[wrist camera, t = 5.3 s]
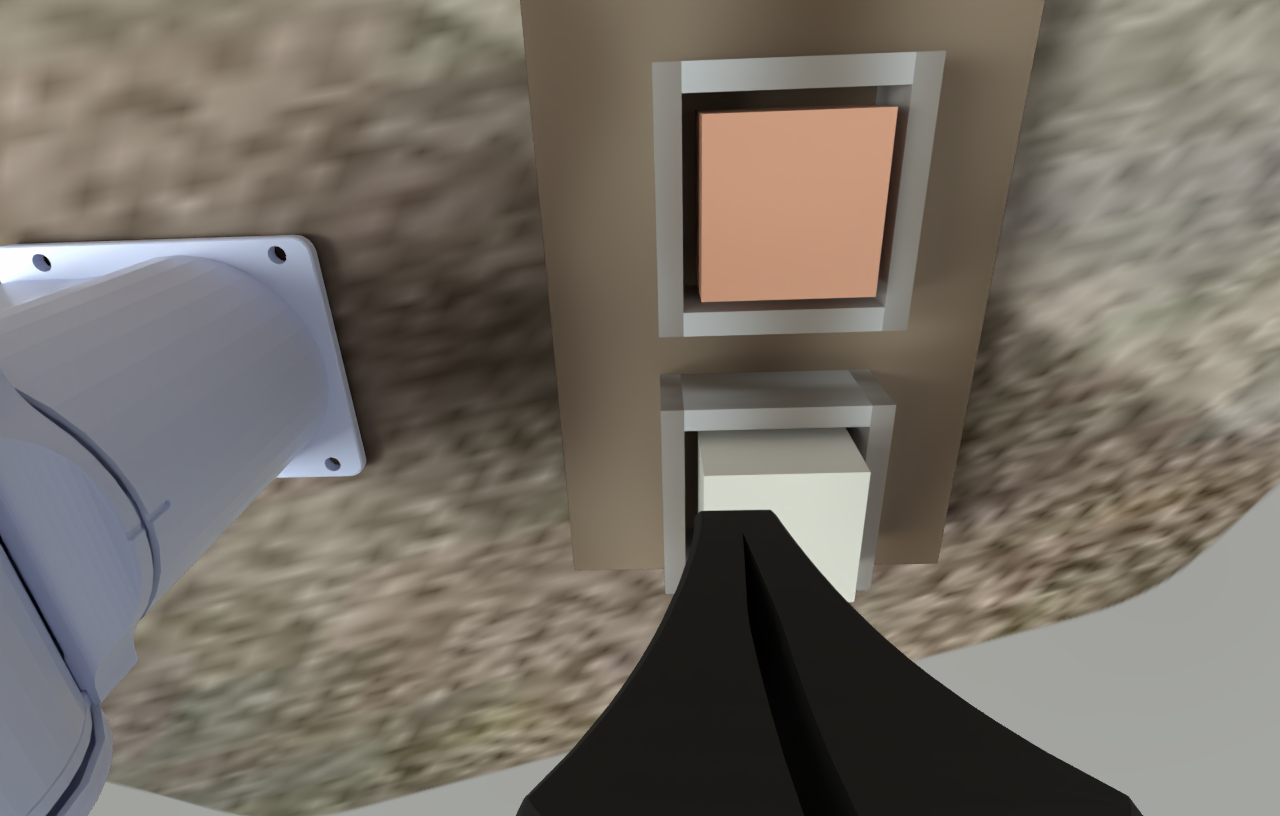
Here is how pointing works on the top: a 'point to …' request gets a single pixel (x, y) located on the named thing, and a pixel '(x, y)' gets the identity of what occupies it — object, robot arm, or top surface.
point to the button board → (764, 329)
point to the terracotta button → (791, 200)
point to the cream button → (793, 489)
